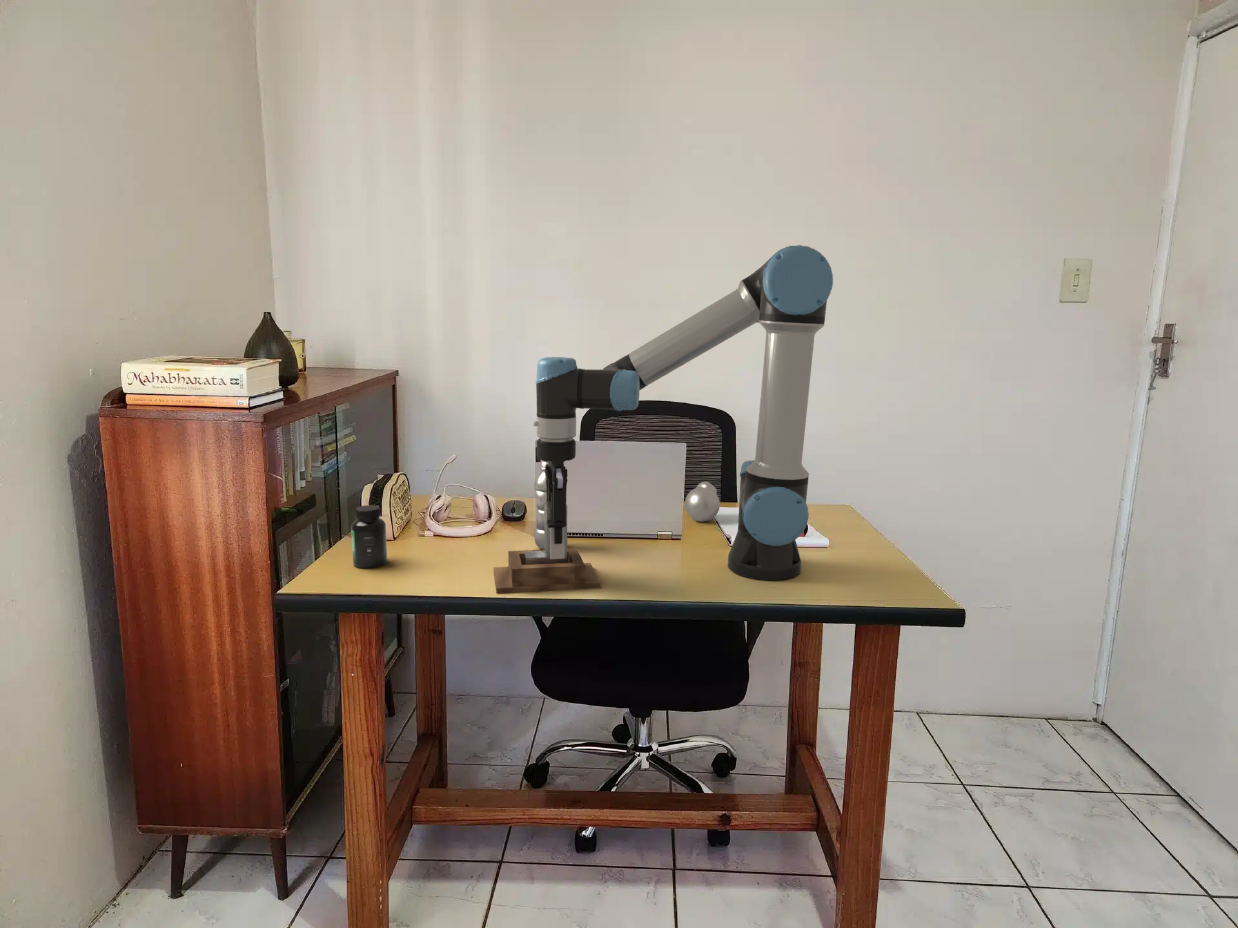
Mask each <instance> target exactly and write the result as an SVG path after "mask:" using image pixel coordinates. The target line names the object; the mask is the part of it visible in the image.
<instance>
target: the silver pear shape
mask: <svg viewBox="0 0 1238 928" xmlns="http://www.w3.org/2000/svg"><path fill="white" fill-rule="evenodd" d="M717 493H718V490H717V488H716V487H715V486H714V485H712V484H711V483H710V482H708V481H705V480H704V481H702V482H700V483H698V484H697V486H696V487H695V488H693V489H692V490H690V491H689V492H688V494H687V495H686V498H685V501H684V509H685V511H686V514H687V515H688V516H689V517H690V518H691V519H692V520H694V521H696V522H701V523H705V522H709V521H711V520H712V519H714V518H715V517H716V516H717V514H718V513H719V511H720V507H721V504H720V503H721V501H720V498H719V496H718V494H717Z"/></svg>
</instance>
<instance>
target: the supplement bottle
mask: <svg viewBox="0 0 1238 928" xmlns="http://www.w3.org/2000/svg"><path fill="white" fill-rule="evenodd" d="M380 517H381V508H380V506H378V505H373V504H369V505H368V504H367V505H361V506H358V507H356V508H355V518H356V519H355V520H354V521H353V522H352V523H351V527H350V531H351V533H350V534H351V552H352V563H353V565H354V567H356V568H359V569H364V570H365V569H366V570H367V569H376V568H380V567H382V566H384V565H386V563H387V561H388V547H387V544H388V543H387V528H386V525H387V524H386V523H385V520H383V518H380Z"/></svg>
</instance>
